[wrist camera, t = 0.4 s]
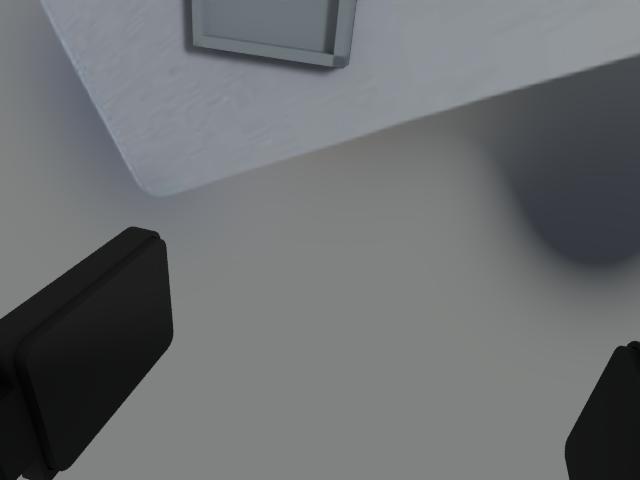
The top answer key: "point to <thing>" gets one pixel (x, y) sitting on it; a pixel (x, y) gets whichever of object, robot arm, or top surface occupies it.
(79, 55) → the top surface
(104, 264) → the robot arm
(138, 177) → the top surface
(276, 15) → the slate tray
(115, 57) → the top surface
